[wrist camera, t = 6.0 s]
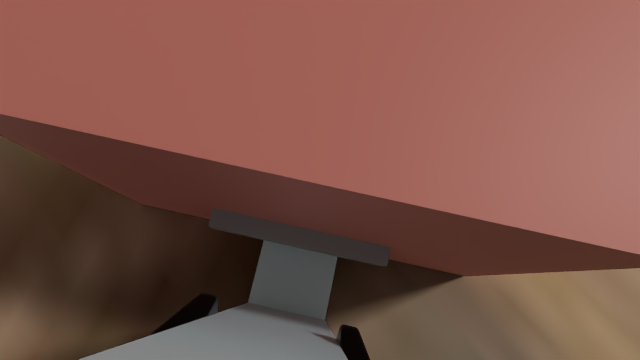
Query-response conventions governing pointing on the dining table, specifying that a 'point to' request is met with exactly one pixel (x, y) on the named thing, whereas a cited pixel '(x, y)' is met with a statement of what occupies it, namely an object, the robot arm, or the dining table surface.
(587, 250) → the block
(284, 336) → the light blue l-shaped piece
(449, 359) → the dining table surface
